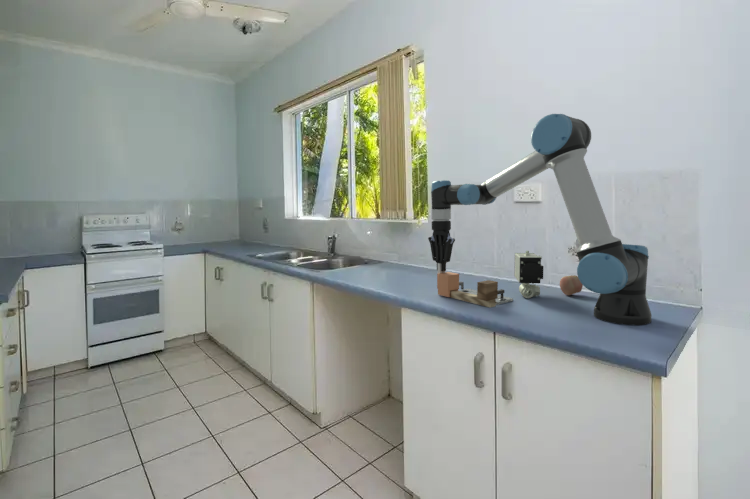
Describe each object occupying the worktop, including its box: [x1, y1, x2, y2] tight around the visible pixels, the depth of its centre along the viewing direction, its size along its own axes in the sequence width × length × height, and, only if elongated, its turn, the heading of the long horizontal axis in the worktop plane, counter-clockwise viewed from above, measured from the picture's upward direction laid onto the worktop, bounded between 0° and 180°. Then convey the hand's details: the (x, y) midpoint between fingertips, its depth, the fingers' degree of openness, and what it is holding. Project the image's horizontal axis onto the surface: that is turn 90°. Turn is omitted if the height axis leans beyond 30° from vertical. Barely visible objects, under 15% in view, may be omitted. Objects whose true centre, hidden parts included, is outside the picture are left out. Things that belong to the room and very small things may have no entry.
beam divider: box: [449, 279, 505, 308], centre depth 150 cm, size 25×12×8 cm, turn 34°
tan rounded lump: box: [559, 274, 583, 297], centre depth 153 cm, size 8×8×8 cm
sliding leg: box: [436, 271, 465, 298], centre depth 158 cm, size 6×12×8 cm, turn 124°
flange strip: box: [458, 288, 514, 306], centre depth 153 cm, size 22×9×1 cm, turn 34°
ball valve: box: [513, 250, 544, 299], centre depth 152 cm, size 18×8×18 cm, turn 168°
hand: (441, 279), depth 160 cm, fingers closed
